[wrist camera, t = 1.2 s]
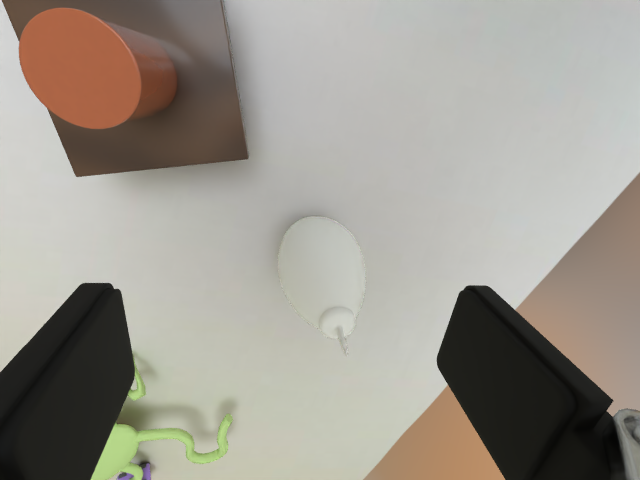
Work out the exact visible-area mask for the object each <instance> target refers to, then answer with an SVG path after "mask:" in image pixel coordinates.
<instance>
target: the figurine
mask: <svg viewBox="0 0 640 480" xmlns="http://www.w3.org/2000/svg"><path fill="white" fill-rule="evenodd" d="M132 355H133V354H132ZM133 360H134V357H133ZM134 366H135V361H134ZM135 378H136V381H137V389H136V390H134V391H132V390H131V388H130V390H129V393H128V396H129V397H130V398H131V399H133V400H137V399H139V398H141V397H143V396H144V395H146V392H145V385H144V383H143V380H142V378H141V376H140V374H139V372H138V370H137V368H136V366H135ZM232 420H233V419H232V416H231V415H230V414H227V415H226V416H225V418H224V419H223V421H222V422H221V424H220V426H219V431H218V437H217V443H218V445H219V449H217V450H215V451H213V452H210V453H205V454H201V453H197V452H195V451H194V441H193V438H192V436H191V435H190V434H189V433H188V432H186V431H184V430H181V429H177V428H165V429H153V430H143V431H139V432H137V431H136V430H135V429H134V428H133V427H131V426H129V425H126V424H117V422H115V425H114V427H113V429H112V432H111V434H110V436H109V438H108V441H107V443H106V445H105V448H104V450H103V452H102V455H101V457H100V459H99V461H98V464H97V466H96V468H95V471H94V473H93V475H92V477H91V480H108V479H109V478H111V477H113V476H114V475H115V474H117V473H118V472H119V471H121V472H125V473H122V474H120V475H119V476H118V477H117V478H116V480H151V475H150V464H149V463H148V464H142V465H140V466H138V465H137V464H133V463H130V461H131V460H132V458H133V457H134V456H135V454H136V452H137V449H138V445H139V442H141V441H148V440H159V439H177V440H179V441H181V442H183V443H184V444H185V445H186V457H187V459H188V460H189V461H191V462H193V463H198V464H204V463H210V462H212V461H215V460H218V459H220V458H221V457H223V456H224V455H225V454H226V452H227V450H228V442H227V439H226V434H227V429H228V427H229V426H230V424H231V423H232Z"/></svg>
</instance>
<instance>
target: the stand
mask: <svg viewBox="0 0 640 480" xmlns="http://www.w3.org/2000/svg"><path fill="white" fill-rule="evenodd" d="M2 2H3V4H4V7H5V9H6V11H7V14H8V16H9V19H10V21H11V23H12V26H13V28H14V30H15V33H16V35H17V38H18V40H19V42H20V38H21V35H22V32H23V30H24V28H25V26H26V25H27V24H28V22H29V21H30V20H31V19H32V18H33V17H35V16H36V15H37V14H39V13H41V12H43V11H46V10H48V9H53V8H73V9H78V10H82V11H84V12H87V13H90V14H92V15H95V16H98V17H101V18H103V19H106V20H109V21H111V22H114V23H117V24H119V25H122V26H125V27H127V28H130V29H133V30H136V31H138V32H141V33H144V34H146V35H148V36H150V37H151V38H153V39H154V40H155V41H157V42H158V43H159V44H160V45H161V46H162V47H163V48H164V49H165V51H166V52H167V53H168V55H169V56H170V58H171V60H172V62H173V64H174V67H175V70H176V75H177V89H176V93H175V96H174V98H173V100H172V102H171V103H170V104H169V106H168V107H167V108H165V109H164V110H162V111H161V112H158V113H156V114H153V115H150V116H146V117H143V118H140V119H137V120H134V121H131V122H127V123H124V124H121V125H118V126H115V127H111V128H107V129H89V128H84V127H80V126H77V125H74V124H72V123H69V122H67V121H65V120H64V119H62V118H60V117H59V116H57V115H56V114H54V113H53V112H52V111H50V110H49V109H48V108H47V109H48V111H49V114H50V116H51V118H52V121H53V123H54V125H55V128H56V130H57V133H58V135H59V137H60V140H61V142H62V145H63V147H64V149H65V152H66V154H67V156H68V159H69V161H70V164H71V166H72V168H73V171H74V173H75V175H76V177H82V176H91V175H101V174H110V173H120V172H130V171H139V170H149V169H158V168H168V167H178V166H187V165H197V164H207V163H216V162H226V161H235V160H245V159H248V158H249V152H248V146H247V140H246V131H245V125H244V119H243V113H242V107H241V101H240V95H239V89H238V84H237V78H236V72H235V66H234V60H233V54H232V48H231V42H230V36H229V30H228V24H227V18H226V12H225V6H224V0H2Z"/></svg>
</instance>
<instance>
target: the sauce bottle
mask: <svg viewBox="0 0 640 480" xmlns="http://www.w3.org/2000/svg"><path fill="white" fill-rule="evenodd" d="M278 273H279V278H280V282H281V285H282V289H283V291H284V294H285V296H286V297H287V299H288V301H289V302H290V304H291V306H292V307H293V308H294V310H295V311H296V312H297V313H298V314H299V315H300V316H301V317H302V318H303V319H304V320H305V321H306V322H307V323H309V324H310V325H312V326H313V327H315V328H317V329H319V330H320V331H321V333H322V334H323V335H324V336H325V337H327V338H330V339H339V342H340V345H341V347H342V350H343V352H344V354H345V355H346V356H348V348H347V343H346V339H345V337H347V336H349V335H350V334H351V333H352V331H353V330H354V328H355V324H356V318H357V316H358V313H359V311H360V309H361V306H362V303H363V299H364V294H365V285H366V271H365V263H364V258H363V255H362V252H361V250H360V247H359V245H358V243H357V241H356V239H355V238H354V237H353V235H352V234H351V233H350V232H349V230H348V229H347V228H345V227H344V226H343V225H341V224H340V223H338V222H336V221H334V220H332V219H329V218H326V217H320V216H310V217H305V218H302V219H300V220H298V221H297V222H295V223H294V224H293V225H292V226H291V227H290V228H289V229H288V230H287V232H286V234H285V235H284V237H283V239H282V242H281V245H280V248H279V255H278Z"/></svg>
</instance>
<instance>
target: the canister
mask: <svg viewBox="0 0 640 480" xmlns="http://www.w3.org/2000/svg"><path fill="white" fill-rule="evenodd" d="M19 59H20V65H21V68H22V72H23V74H24V77H25V79H26V81H27V83H28V85H29V87H30V88H31V90H32V91H33V93H34V94H35V95H36V97H37V98H38V99H39V100H40V101H41V102H42V103H43V104H44V105H45V106H46V107H47V108H48V109H49V110H50V111H52V112H53V113H54V114H56V115H57V116H59V117H60V118H62V119H64V120H65V121H67V122H69V123H72V124H74V125H77V126H80V127H84V128H89V129H107V128H111V127H115V126H118V125H121V124H124V123H127V122H131V121H134V120H137V119H140V118H143V117H146V116H150V115H153V114H156V113H158V112H161V111H162V110H164V109H165V108H167V107H168V106H169V104H170V103H171V102H172V100H173V98H174V96H175V93H176V89H177V75H176V70H175V67H174V64H173V62H172V60H171V58H170V56H169V55H168V53H167V52H166V51H165V49H164V48H163V47H162V46H161V45H160V44H159V43H158V42H157V41H155V40H154V39H153V38H151V37H150V36H148V35H146V34H144V33H141V32H138V31H136V30H133V29H130V28H127V27H125V26H122V25H119V24H117V23H114V22H111V21H109V20H106V19H103V18H101V17H98V16H95V15H92V14H90V13H87V12H84V11H82V10H78V9H73V8H53V9H48V10H46V11H43V12H41V13H39V14H37V15H36V16H35V17H33V18H32V19H31V20H30V21H29V22H28V24H27V25H26V26H25V28H24V30H23V32H22V35H21V38H20V43H19Z"/></svg>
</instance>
